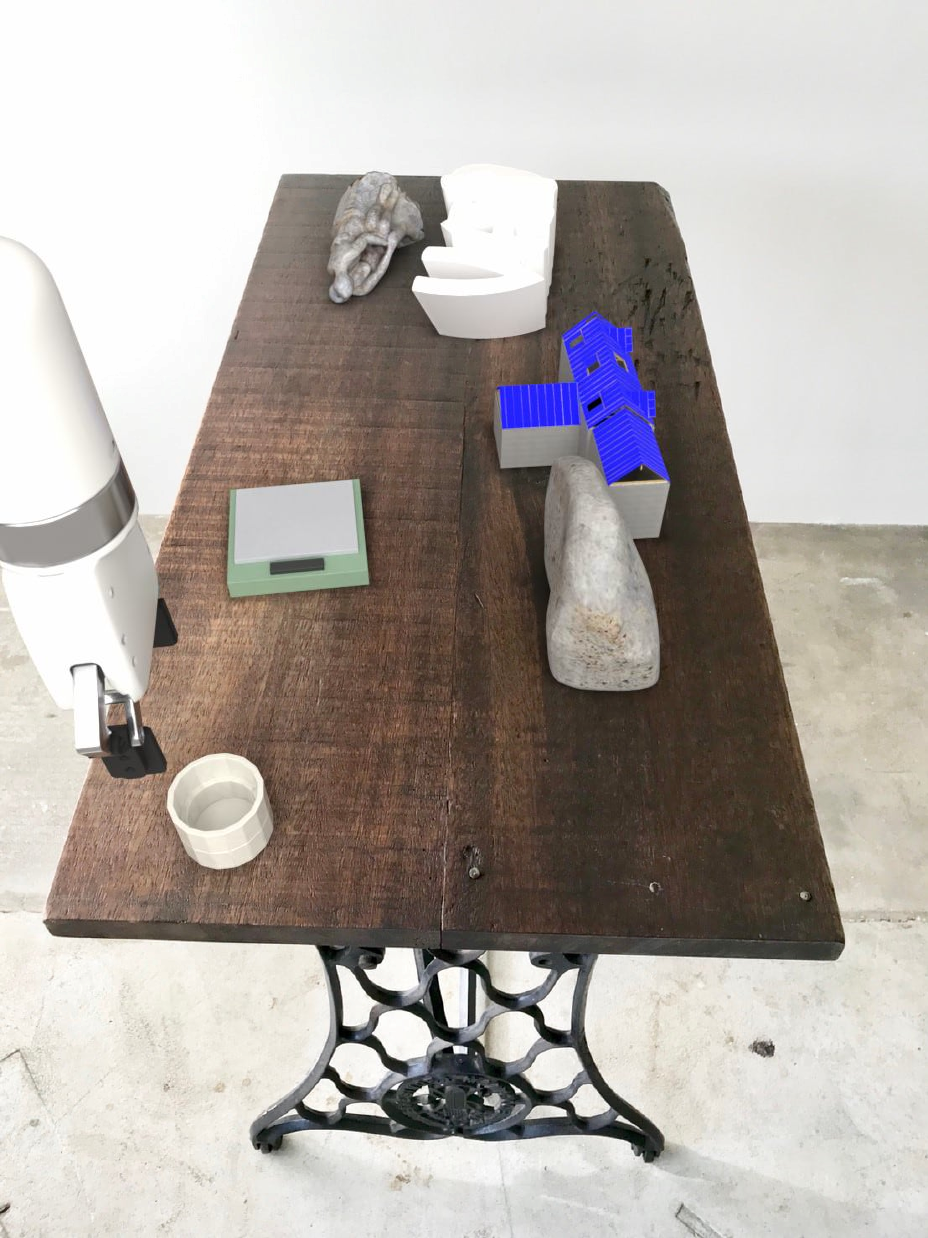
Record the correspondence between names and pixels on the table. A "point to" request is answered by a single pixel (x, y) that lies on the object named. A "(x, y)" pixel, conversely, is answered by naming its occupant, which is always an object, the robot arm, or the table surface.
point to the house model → (591, 422)
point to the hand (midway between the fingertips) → (147, 704)
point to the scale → (296, 538)
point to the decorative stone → (595, 587)
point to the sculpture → (370, 233)
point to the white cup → (221, 810)
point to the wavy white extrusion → (491, 254)
